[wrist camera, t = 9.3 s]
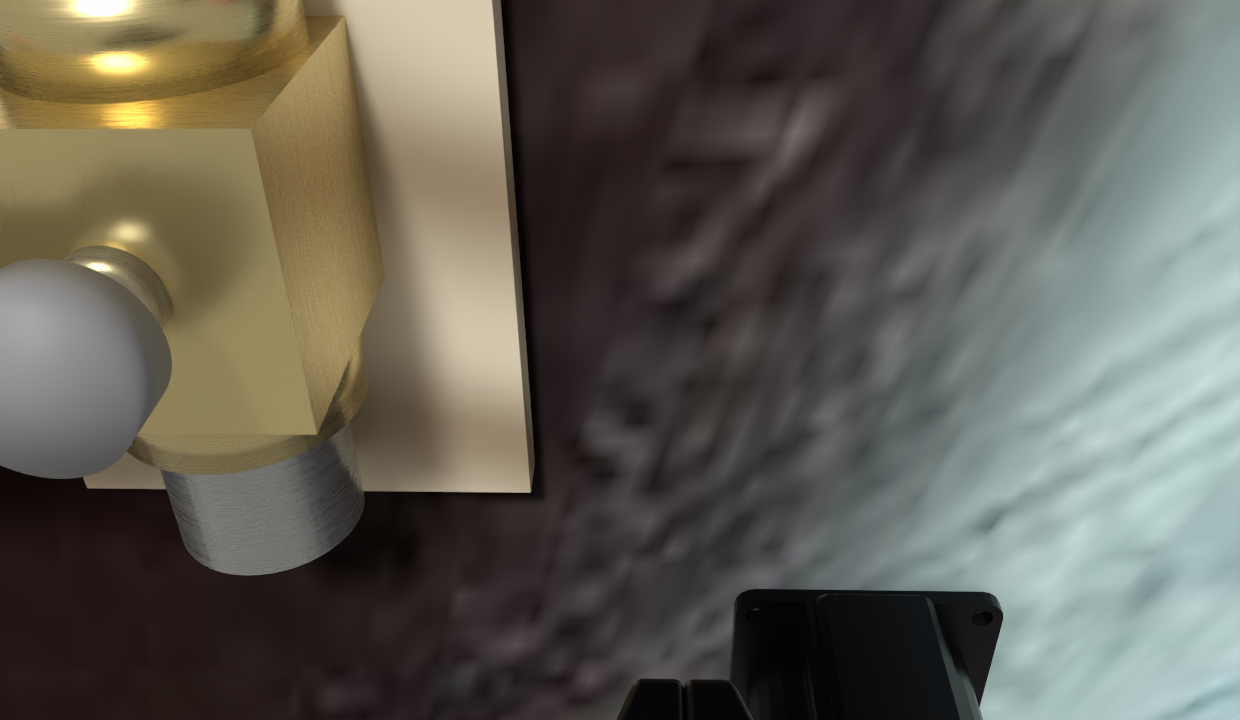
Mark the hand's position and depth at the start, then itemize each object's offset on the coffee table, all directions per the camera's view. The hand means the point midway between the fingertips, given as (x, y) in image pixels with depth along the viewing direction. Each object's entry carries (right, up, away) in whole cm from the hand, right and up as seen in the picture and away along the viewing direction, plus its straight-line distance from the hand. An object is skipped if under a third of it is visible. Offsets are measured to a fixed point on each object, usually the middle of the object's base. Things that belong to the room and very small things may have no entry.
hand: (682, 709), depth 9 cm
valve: (-8, +7, +11) cm, 15 cm away
